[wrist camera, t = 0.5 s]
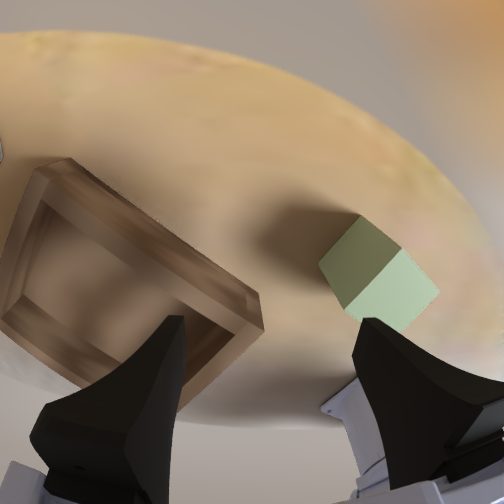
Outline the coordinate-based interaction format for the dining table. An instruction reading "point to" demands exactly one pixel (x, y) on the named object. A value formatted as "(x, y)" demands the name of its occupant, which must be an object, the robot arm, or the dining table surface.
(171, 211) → the dining table surface
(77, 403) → the robot arm
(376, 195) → the dining table surface
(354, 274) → the green block
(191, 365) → the walnut crate
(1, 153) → the flask
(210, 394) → the dining table surface
